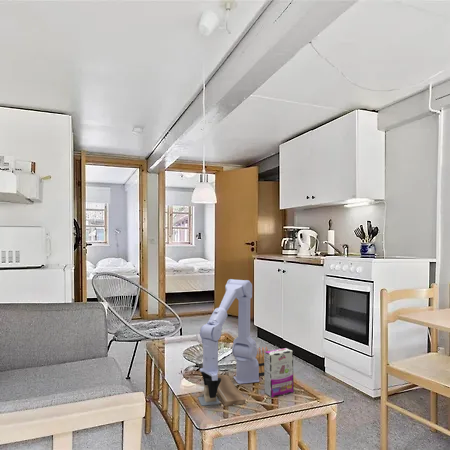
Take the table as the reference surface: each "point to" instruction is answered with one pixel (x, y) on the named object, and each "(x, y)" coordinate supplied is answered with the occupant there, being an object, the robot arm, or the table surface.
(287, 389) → the candy bar box
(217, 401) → the slate mat
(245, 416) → the table surface
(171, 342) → the table surface
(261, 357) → the ammunition clip
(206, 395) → the block
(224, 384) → the walnut board
